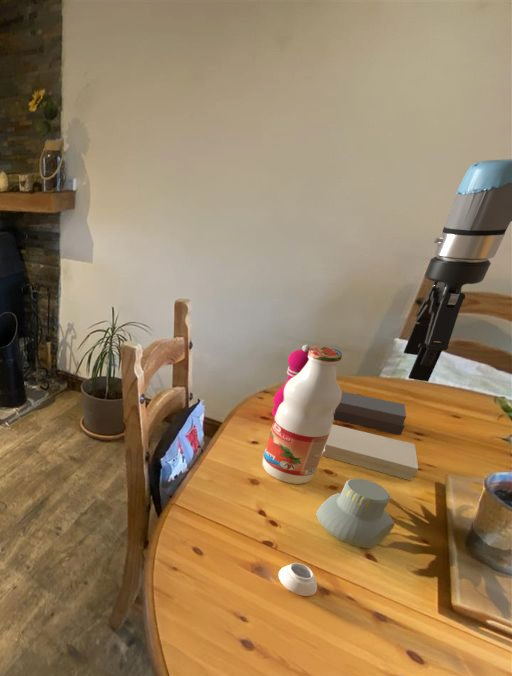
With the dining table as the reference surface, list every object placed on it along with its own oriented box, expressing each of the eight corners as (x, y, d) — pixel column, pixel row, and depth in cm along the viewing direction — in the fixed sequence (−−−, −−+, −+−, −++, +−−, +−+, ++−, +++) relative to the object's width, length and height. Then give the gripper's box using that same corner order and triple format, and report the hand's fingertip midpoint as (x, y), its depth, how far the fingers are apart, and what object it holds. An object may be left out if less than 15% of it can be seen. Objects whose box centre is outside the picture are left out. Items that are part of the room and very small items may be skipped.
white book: (412, 448, 90) (415, 443, 89) (416, 473, 83) (418, 468, 82) (327, 427, 98) (328, 423, 97) (323, 448, 91) (325, 444, 91)
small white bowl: (278, 589, 65) (317, 602, 63) (283, 577, 64) (322, 590, 62) (277, 565, 69) (314, 576, 67) (282, 553, 68) (319, 564, 65)
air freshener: (357, 561, 69) (379, 517, 64) (305, 528, 75) (322, 486, 71) (392, 535, 73) (415, 492, 68) (340, 506, 80) (357, 464, 75)
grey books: (399, 421, 102) (407, 404, 100) (400, 435, 98) (409, 417, 95) (333, 406, 110) (339, 390, 108) (331, 419, 105) (338, 402, 103)
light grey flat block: (410, 459, 90) (414, 450, 89) (412, 481, 84) (417, 471, 83) (324, 437, 99) (327, 429, 97) (321, 455, 93) (324, 447, 92)
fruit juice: (322, 486, 84) (371, 362, 71) (271, 484, 86) (310, 361, 73) (299, 457, 93) (340, 341, 80) (254, 455, 94) (286, 341, 81)
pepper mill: (300, 411, 109) (323, 340, 99) (304, 426, 103) (329, 352, 94) (268, 407, 112) (287, 337, 102) (271, 420, 106) (291, 348, 97)
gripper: (425, 244, 84) (387, 342, 94) (441, 271, 67) (393, 386, 77) (478, 246, 80) (433, 347, 90) (509, 275, 63) (450, 396, 73)
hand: (414, 366), depth 83 cm, fingers open, 13 cm apart
